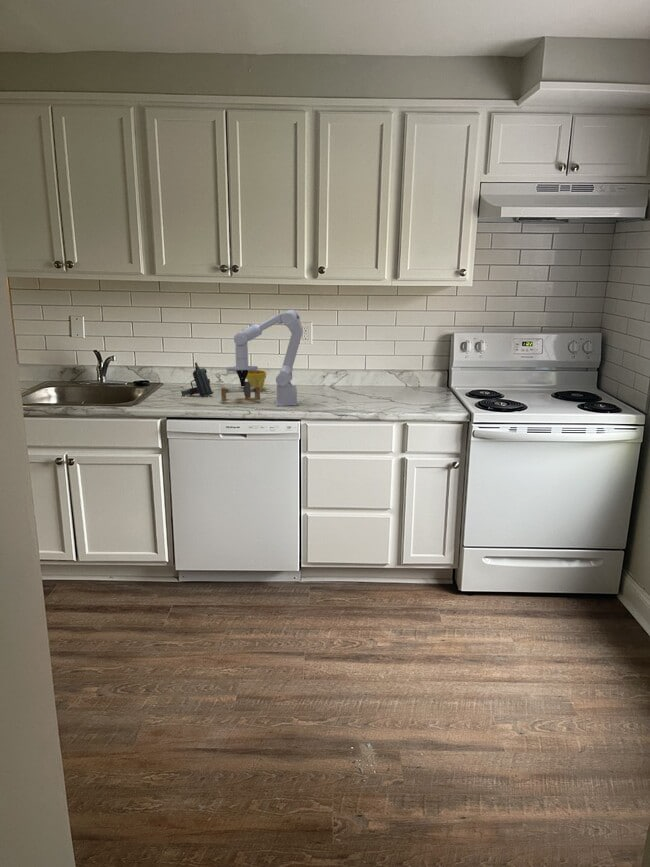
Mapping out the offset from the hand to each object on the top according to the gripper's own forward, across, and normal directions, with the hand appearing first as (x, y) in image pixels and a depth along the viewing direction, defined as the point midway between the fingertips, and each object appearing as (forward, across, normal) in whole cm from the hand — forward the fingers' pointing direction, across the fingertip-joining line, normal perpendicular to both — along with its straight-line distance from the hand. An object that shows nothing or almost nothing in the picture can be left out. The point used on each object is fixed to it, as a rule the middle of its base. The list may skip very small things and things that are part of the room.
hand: (242, 386), depth 304 cm
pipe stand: (+8, +1, 0) cm, 8 cm away
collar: (+5, -2, 0) cm, 5 cm away
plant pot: (+8, -9, -23) cm, 26 cm away
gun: (+8, +21, -15) cm, 27 cm away
